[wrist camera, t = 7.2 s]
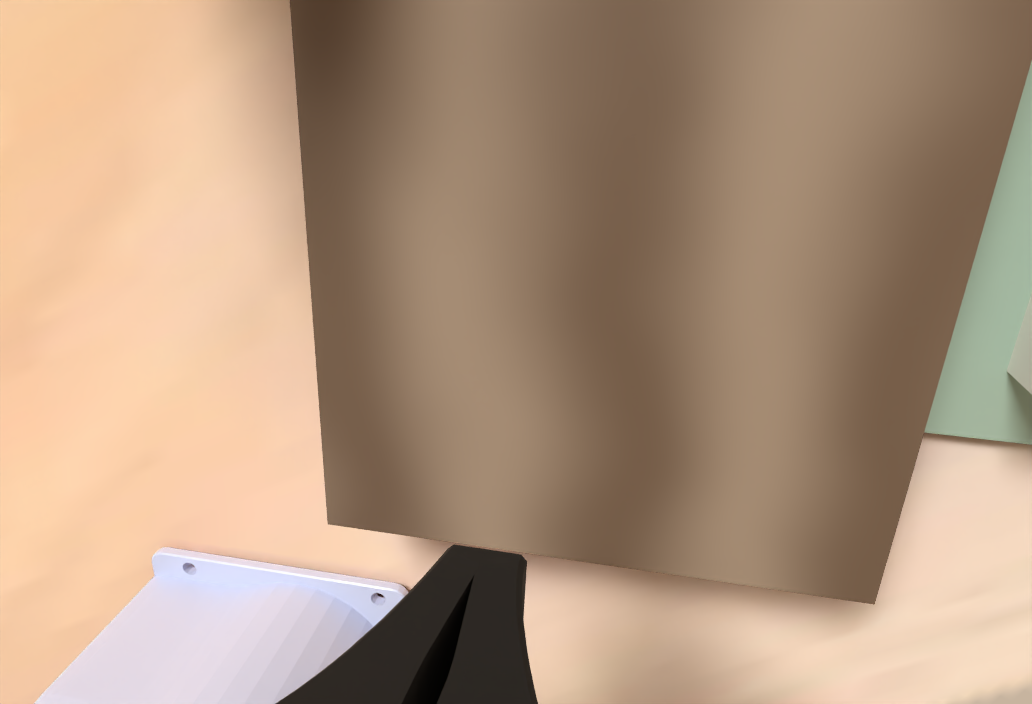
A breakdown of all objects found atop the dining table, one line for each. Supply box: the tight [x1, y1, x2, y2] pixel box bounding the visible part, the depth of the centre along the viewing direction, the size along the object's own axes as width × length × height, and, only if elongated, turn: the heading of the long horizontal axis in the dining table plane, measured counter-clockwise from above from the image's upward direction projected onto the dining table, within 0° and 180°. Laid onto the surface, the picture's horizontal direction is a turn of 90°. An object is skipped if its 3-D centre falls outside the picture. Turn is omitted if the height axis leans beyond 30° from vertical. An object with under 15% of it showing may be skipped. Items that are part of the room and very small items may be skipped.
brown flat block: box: [290, 0, 1032, 604], centre depth 18 cm, size 14×16×4 cm
